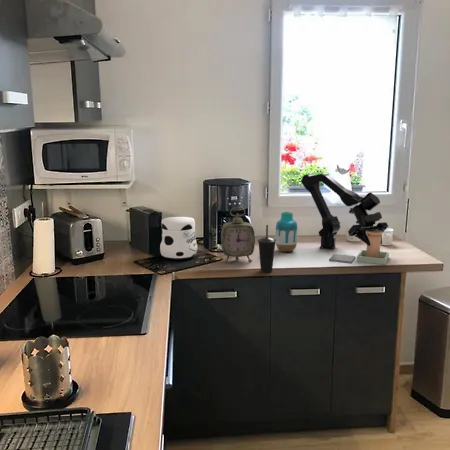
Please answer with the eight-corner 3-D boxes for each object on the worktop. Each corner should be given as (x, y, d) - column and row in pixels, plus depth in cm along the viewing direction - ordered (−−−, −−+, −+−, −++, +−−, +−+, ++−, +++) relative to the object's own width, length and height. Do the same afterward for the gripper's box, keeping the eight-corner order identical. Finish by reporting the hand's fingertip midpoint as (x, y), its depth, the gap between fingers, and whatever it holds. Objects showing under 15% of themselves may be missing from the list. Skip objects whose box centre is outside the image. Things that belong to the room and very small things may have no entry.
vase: (272, 252, 245) (273, 213, 241) (278, 247, 254) (279, 210, 250) (293, 254, 241) (294, 215, 237) (299, 249, 250) (300, 211, 246)
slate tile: (329, 260, 230) (329, 259, 230) (333, 255, 239) (333, 253, 239) (351, 263, 226) (351, 261, 226) (355, 257, 235) (355, 256, 235)
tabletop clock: (222, 264, 225) (222, 209, 220) (220, 259, 234) (220, 205, 229) (254, 263, 226) (255, 208, 221) (252, 258, 235) (252, 205, 230)
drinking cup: (277, 269, 218) (278, 223, 214) (273, 274, 211) (273, 227, 207) (260, 267, 220) (260, 222, 216) (255, 272, 213) (255, 226, 209)
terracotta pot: (363, 260, 231) (365, 232, 228) (365, 256, 237) (367, 229, 234) (379, 261, 228) (381, 233, 225) (381, 257, 234) (383, 230, 231)
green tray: (356, 261, 229) (356, 256, 229) (361, 254, 240) (361, 249, 240) (385, 264, 224) (385, 259, 224) (388, 257, 235) (389, 252, 235)
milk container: (202, 259, 233) (202, 221, 229) (166, 264, 226) (165, 224, 223) (190, 251, 249) (189, 215, 245) (156, 254, 242) (154, 217, 238)
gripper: (353, 207, 228) (366, 236, 220) (387, 205, 234) (401, 233, 227) (342, 221, 236) (355, 250, 229) (375, 218, 243) (388, 246, 235)
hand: (375, 244), depth 230 cm, fingers closed on terracotta pot, 6 cm apart
